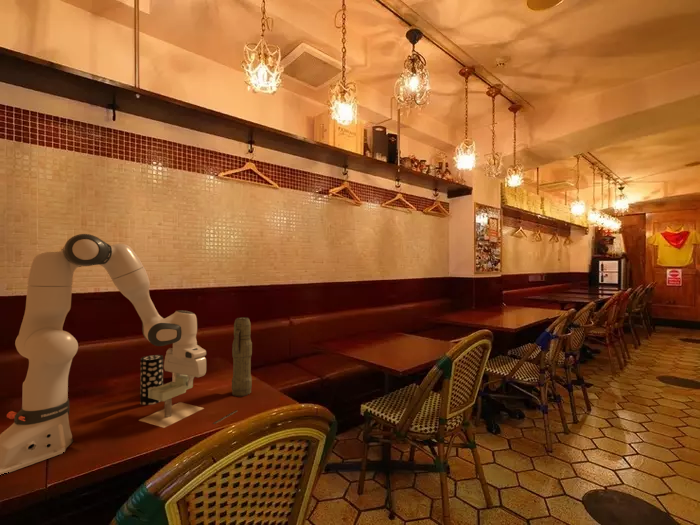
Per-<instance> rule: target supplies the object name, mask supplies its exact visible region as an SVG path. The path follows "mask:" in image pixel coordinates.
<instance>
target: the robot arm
mask: <svg viewBox="0 0 700 525" xmlns="http://www.w3.org/2000/svg"><path fill="white" fill-rule="evenodd" d="M98 265H99V266H101V267H102V268H104V270H106V272H107V274H108V276H109V278H110V279H111V281H112V283H113V284H114V286H115V287H116V288H117V290H118V291H119V292H120V293H121V294H122V295H123V297H125V298H126V299H127V300H129V302H130V303H131V304H132V306H133V307H134V309H135V311H136V313H137V314H138V316H139V318H140V321H141V326H142V327H141V329H142V330H141V331H142V335H143V337H144V338H145V339H146V340H147V341H148V342H149V343H150V344H151V345H153V346H156V347H164V346H168V345H171V344H172V348H171V347H169V348H168V349H167V350H166V352H165V353H166V354H165V356H164V360H163V370H164V371H165V372H169V373H174V376H175V377H178V376H180V374H183V375H188V378H189V379H188V381H186V386H191V385H192V381H193V382H194V379H195V378H200V377H204V376H205V375H206V373H207V358H206V357H205V356H207V350H206V349H204V348H202V347H201V346H200V345H198V341H197V333H198V318H197V315H196V314H195V313H194V312H192V311H188V310H183V309H181V310H175V312H174V313H172V314H170V315H169V316H167V317H165V318H164V316H161V315H160V314H159V312H158V310H157V309H156V307H155V304H154V302H153V301H152V299H151V296H150V287H151V286H150V285H151V281H150V278H149V275H148V272H147V270H146V268H145V266H144V264H143V263H142V261H141V258H139V255H138V254H136V252H135V250H134V249H133V248H132V247H131V246H130V245H128V244H125V243H115V244H112V245H111V244H109V243H107V242H106V241H104V240H102V239H101V238H100V237H97V236H95V235H93V234H90V233H81V234H76V235H73V236H72V237H70V238H69V239H68V240H67V241H66V242H65V244H64V246H63V248H62V249H61V250H59V251H46V252H42V253H38V254H37V255H36V256H35V257H34V258H33V260H32V262H31V266H30V270H29V273H28V279H27V287H26V289H27V290H26V300H25V310H24V315H23V317H22V318H23V319H22V322H21V325H20V328H19V332H18V335H17V337H16V339H15V343H14V345H15V348H16V351H17V353H19V355H20V356H22V357H23V358H26V359H28V368H27V373H26V376H25V379H24V381H23V382H22V398H21V399H22V404H21V408H20V410H18V412H16V411H13V410H10V411H9V412H8V413H7V414H6V417H7V419H10V420H13V419H14V420H13V421H14V422H13V423H12V424H11V425H10V426H9V427H7V429H5V430H4V431H3V432H1V433H0V475H1V474H4V473H7V474H9V473H12V472H15V471H17V470H20V469H23V468H25V467H28V466H31V465H34V464H37V463H39V462H43V461H45V460H47V459H48V460H49V459H50V458H54V457H56V456H58V455H63V452H64V453H65V452H66V450H67V448H69V447H70V445H71V444H72V443H73V442H74V438H73V435H72V431H71V427H70V420H69V415H70V399H69V398H68V397H69V396H68V395H69V394H68V392H69V387H68V386H69V375H70V371H71V366H72V362H73V359H74V357H75V356H76V354H77V353H78V350H79V343H78V340H77V339H76V337H74V335H72V334H71V333H70V332H69V331H66V330H63V327H64V323H65V320H66V317H67V315H68V313H69V312H70V310H71V308H72V293H73V292H72V291H73V276H74V272H75V271H76V269H78V268H80V267H81V268H82V267H91V266H98ZM8 472H9V473H8ZM4 475H5V474H4ZM1 476H2V475H1Z"/></svg>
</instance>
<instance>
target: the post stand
mask: <svg viewBox="0 0 700 525" xmlns="http://www.w3.org/2000/svg"><path fill="white" fill-rule="evenodd" d="M166 390H167V389H166ZM172 400H173V399H172V398H170V399H168V400H165V401H164V408H163V409H160V410H158V411H156V412H154V413H152V414H149V415H147V416H145V417H142V418H140V419H138V421H139V422H142V423H147V424H150V425H154V426H156V427H160V428H163V429H164V428H167V427H170V426H172V425H174V424H175V423H177V422H179V421H182V420H183V419H186V418H187V417H190V416H191V415H194V414H196V413H198V412H200V411H202V410H204V409H205V408H204V407H201V406H197V405H192V404H189V403H184V402H181V401H180V402H178V403H175V404H173V403H172V402H173V401H172Z"/></svg>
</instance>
